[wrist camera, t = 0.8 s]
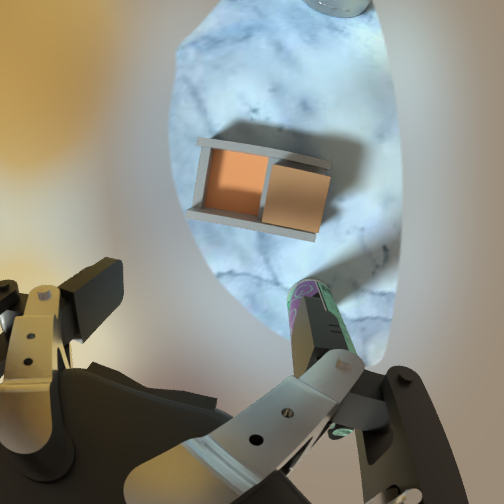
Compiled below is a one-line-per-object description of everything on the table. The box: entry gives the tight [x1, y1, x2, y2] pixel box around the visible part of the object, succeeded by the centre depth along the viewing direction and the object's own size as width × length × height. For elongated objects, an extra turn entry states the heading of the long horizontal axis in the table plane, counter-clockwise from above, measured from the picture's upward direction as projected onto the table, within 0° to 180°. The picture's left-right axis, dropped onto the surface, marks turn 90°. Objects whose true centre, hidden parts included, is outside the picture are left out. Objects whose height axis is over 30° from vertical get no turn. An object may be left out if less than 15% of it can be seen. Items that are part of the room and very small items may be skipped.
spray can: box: [287, 279, 357, 440], centre depth 23 cm, size 6×6×20 cm
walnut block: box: [262, 164, 331, 233], centre depth 25 cm, size 5×5×5 cm
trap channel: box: [186, 137, 332, 242], centre depth 28 cm, size 8×13×4 cm, turn 80°
